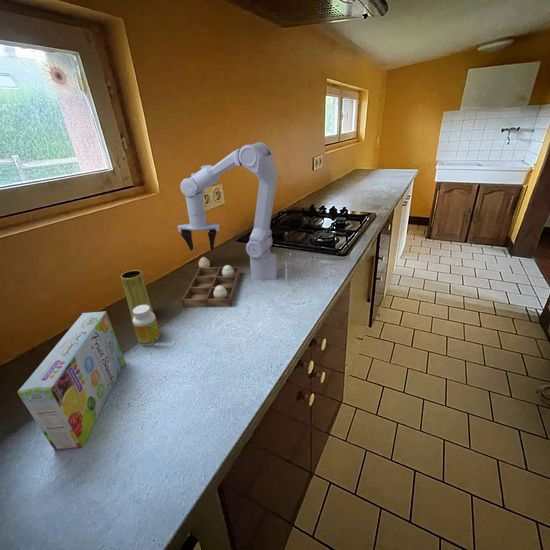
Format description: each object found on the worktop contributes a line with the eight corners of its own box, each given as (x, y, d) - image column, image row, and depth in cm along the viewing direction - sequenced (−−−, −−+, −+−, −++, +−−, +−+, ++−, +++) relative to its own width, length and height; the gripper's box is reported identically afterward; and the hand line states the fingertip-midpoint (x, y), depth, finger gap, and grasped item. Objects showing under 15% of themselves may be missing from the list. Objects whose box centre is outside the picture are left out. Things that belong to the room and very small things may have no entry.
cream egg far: (235, 275, 108) (234, 262, 106) (233, 281, 104) (232, 268, 102) (223, 275, 108) (222, 262, 106) (221, 281, 105) (219, 268, 102)
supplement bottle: (153, 347, 76) (144, 316, 72) (134, 345, 77) (124, 314, 73) (164, 334, 81) (156, 303, 76) (146, 332, 82) (137, 302, 77)
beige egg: (211, 266, 117) (210, 255, 114) (209, 271, 113) (207, 259, 111) (201, 266, 117) (199, 255, 115) (198, 271, 113) (196, 259, 111)
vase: (158, 313, 90) (147, 270, 83) (144, 325, 85) (131, 280, 78) (141, 309, 91) (130, 267, 85) (127, 321, 86) (113, 277, 80)
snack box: (102, 364, 71) (81, 311, 64) (126, 362, 72) (108, 309, 65) (51, 451, 53) (14, 391, 46) (84, 448, 53) (52, 388, 46)
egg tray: (240, 275, 110) (240, 267, 108) (231, 308, 91) (230, 299, 89) (200, 275, 110) (199, 267, 109) (183, 309, 91) (181, 299, 90)
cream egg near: (228, 296, 96) (227, 282, 93) (226, 303, 92) (224, 289, 90) (215, 296, 96) (213, 282, 93) (213, 303, 92) (210, 289, 90)
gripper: (219, 209, 108) (223, 244, 114) (179, 210, 109) (185, 245, 115) (215, 215, 102) (220, 252, 108) (173, 216, 102) (180, 252, 109)
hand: (202, 249), depth 111 cm, fingers open, 7 cm apart
